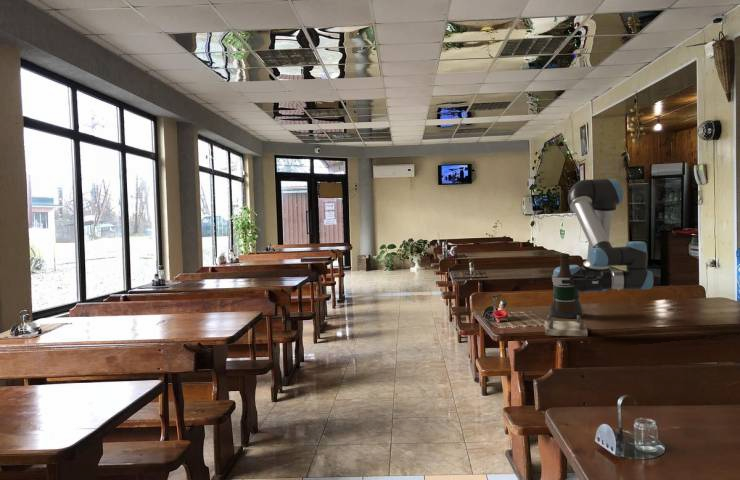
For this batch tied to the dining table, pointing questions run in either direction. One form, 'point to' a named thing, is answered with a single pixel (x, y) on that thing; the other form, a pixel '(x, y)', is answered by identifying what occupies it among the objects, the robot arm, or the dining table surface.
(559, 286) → the beer bottle
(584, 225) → the robot arm
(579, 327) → the condiment stand
